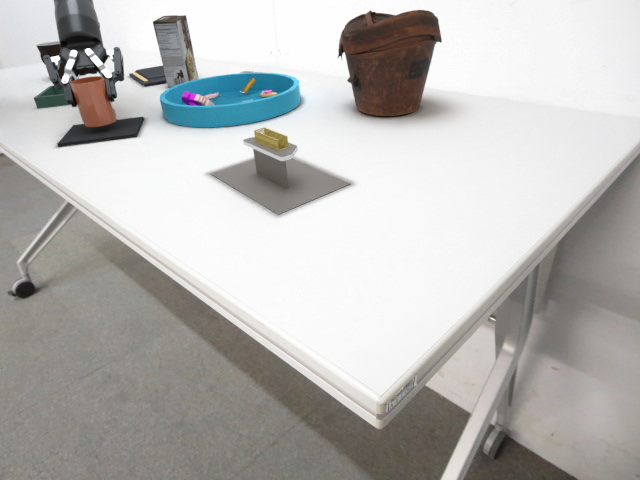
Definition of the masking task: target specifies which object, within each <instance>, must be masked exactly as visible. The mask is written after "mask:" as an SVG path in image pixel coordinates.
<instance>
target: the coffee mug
mask: <svg viewBox="0 0 640 480" xmlns="http://www.w3.org/2000/svg"><path fill="white" fill-rule="evenodd" d="M36 48H37V51H38V52H39V55H40V60H41V61H42V63H43V64H44V65H45V62H44V59H43V56H44V55H49V56H50V57H55V56H59V53H60V51H61V48H60V42H59V40H58V41H57V40H56V41H49V42H42V43H38V44H36ZM59 66H60V67H59V70H57V72H58V75H59V78H60V79H62V77H63V75H64V69H65V66H66V65H64V64H63V63H60V65H59Z"/></svg>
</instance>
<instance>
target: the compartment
mask: <svg viewBox="0 0 640 480" xmlns="http://www.w3.org/2000/svg"><path fill="white" fill-rule="evenodd" d="M33 101H34V103H35V105H36V106H35V107H36V108H37V109H43V108H51V107H60V106H62V107H63V106H70V105H69V103H68V102H67V101H66V99H65V95H64V89H62V88H61V89H56V88H55V86H54V85H49V86H48V87H46V88H45V89H44V90H42V91H41V92H40V93H38V94H37V95H36V96H34V97H33Z"/></svg>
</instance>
